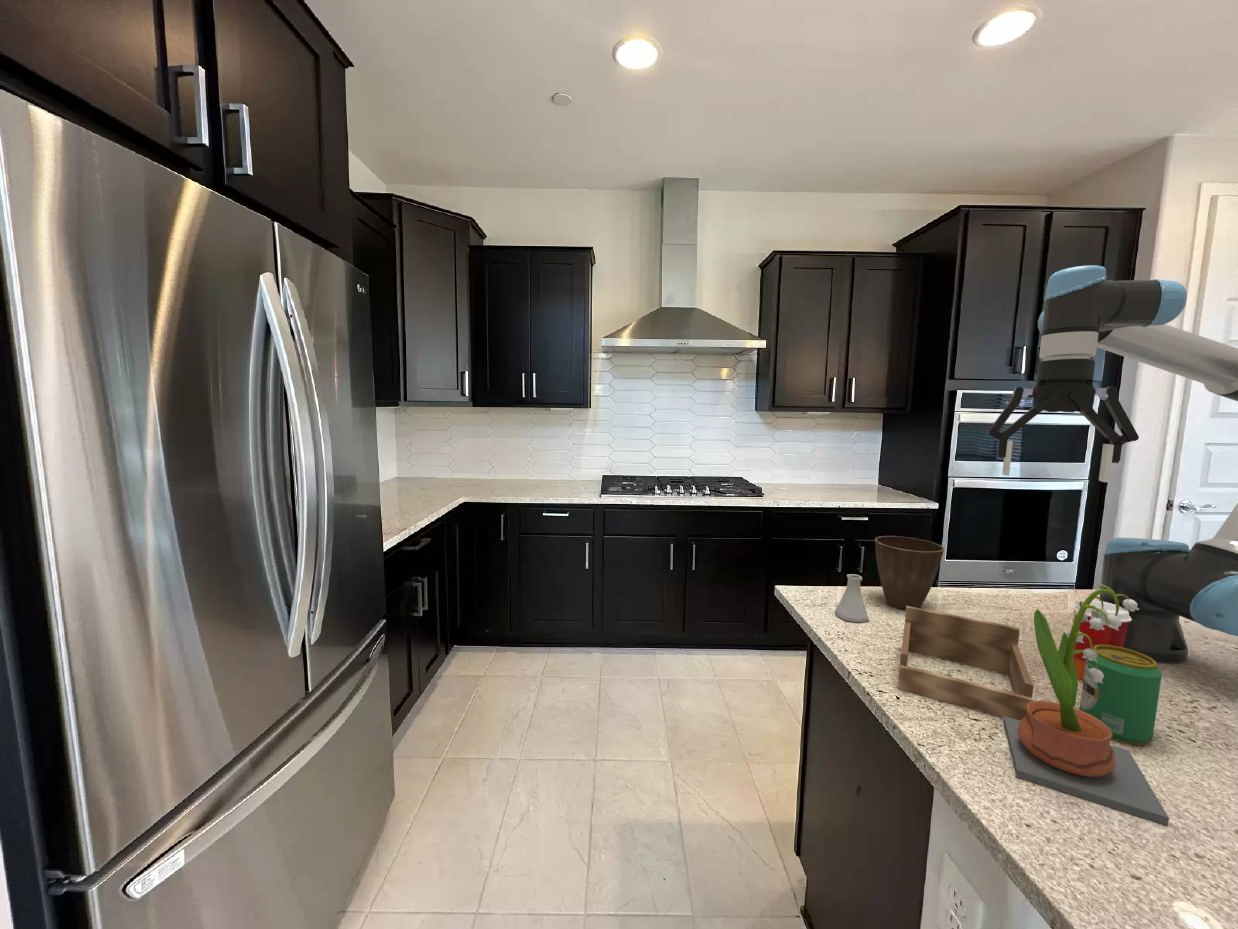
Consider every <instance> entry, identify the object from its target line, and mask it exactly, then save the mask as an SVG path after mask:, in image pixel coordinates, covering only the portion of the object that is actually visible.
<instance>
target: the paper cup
mask: <svg viewBox="0 0 1238 929" xmlns="http://www.w3.org/2000/svg"><path fill="white" fill-rule="evenodd" d="M1086 599H1087V598H1083V599H1082V598H1081V599H1077V601H1076V602H1075V603H1074V604H1073V605H1072V607H1071V609H1072V610H1073V611H1074V612H1073V618H1076V617H1075V615H1074V614H1075V612H1076V611H1078V610H1079V609H1080V605H1079V603H1080V601H1083V602H1084V601H1085V600H1086ZM1090 605H1092V606H1095V607H1096V608H1102V604H1101V601H1099V599H1097V600H1095V599H1093V600H1092V602H1091V603H1090ZM1103 605H1104V606H1103V609H1104V610H1106V611H1107V613H1108V615H1115V613H1116V605H1115V604H1111V603H1107V602H1103ZM1091 611H1092V608H1087V609H1086V613H1087V614H1088V618H1087V619H1088V622H1086V621H1085V620H1084V622H1081V624H1080V628H1079V631H1080V632H1081V633H1084V634H1086V635H1088V636H1089V637H1090V639H1091V642H1092V649H1093V647H1094V646H1095V645H1111V646H1117V647H1121V648H1123V644H1124V640H1125V635H1126V631H1127V626H1128V622H1129V621H1131V620H1132V619H1131V617H1130V616H1129V612H1128V611H1127V610H1124V608H1122V607H1120V606H1119V611H1118V614H1117V617H1119V618H1120V620H1121V623H1122V624H1121V626H1119V627H1118V630H1119V631H1118V630H1116V629H1115V628H1114V629H1113V628H1112V627H1108V626H1107V625H1103V628H1104V630H1102V629H1100V630H1095V629H1094V628H1089V627H1090V623H1089V621H1090V619H1092V618H1091V617H1089V616H1091V614H1092V613H1091ZM1082 641H1083V642H1084V643H1081V642H1079V643H1078V642H1076V644H1075V650H1085V649H1087V648H1088V649H1091V645H1090V641H1089V639H1088V638H1087V637H1086V636H1084V635H1083V639H1082ZM1075 650H1074V651H1075ZM1083 655H1084V654H1083V653H1078V654H1075V655H1073V659H1074V663H1075V669H1076V674H1077V679H1078V681H1080V682H1083V680H1084V672H1085V664H1086V658H1083Z"/></svg>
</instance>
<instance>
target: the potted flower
mask: <svg viewBox="0 0 1238 929" xmlns="http://www.w3.org/2000/svg"><path fill="white" fill-rule="evenodd" d="M1098 587H1100V589H1096V590H1094V591H1092V592H1091V593H1090V594H1089V595H1088V597H1087V598H1085V599H1086V600H1085V601H1084V602H1083V601H1080V603H1079V605H1080V609H1079V610H1078V611H1076V612H1075V614H1074V613H1073V616H1074V615H1075V617H1076V618H1074V617H1073V618H1072V626H1071V628H1070V630H1068V631H1067V634H1066V632H1063V633H1062V635H1061V639H1060V643H1059V647H1058V648H1057V646H1056V643H1055V640H1054V637H1053V633H1052V631H1051V628H1050V626H1049V623H1048V620H1047V618H1046V617H1045V615H1044V614H1043V613H1042V612H1041V610H1040V609H1039V608H1037V609H1036V610H1035V611H1034V614H1033V625H1034V633H1035V639H1036V646H1037V649H1038V652H1039V654H1040V657H1041V660H1042V663H1043V664H1044V665H1043V666H1044V669H1045V672H1046V673H1047V676H1048V680H1049V681H1050V684H1051V687H1052V690H1053V692H1054V695H1055V697H1056V698H1057V701H1058V702H1056V701H1055V702H1054V701H1049V700H1033V702H1030V703H1028V704H1027V705H1026V710H1027V714H1026V716H1025V717H1024V718H1023V719H1022V720H1021V721H1020V723H1019V727H1018V730H1017V733H1018V736H1019V737H1020V739H1021V741H1022V742H1023V744H1024V746H1025V747H1026V748H1027V749H1028V750H1029V751H1030V752H1031V753H1032V754H1033V755H1035V756H1036V757H1038V758H1039V759H1041V760H1042V761H1044V762H1046V763H1048V764H1049V765H1051V766H1053V767H1055V768H1058V769H1060V770H1063V771H1065V772H1069V773H1072V774H1076V775H1081V776H1087V777H1101V776H1104V775H1106V774H1108V773H1110V772H1111V771H1113V770H1114V769H1115V767H1116V763H1115V753H1114V751H1113V749H1112V747H1111V740H1112V739H1111V738H1112V736H1113V735H1112V732H1111V730H1110V729H1109V728H1108V727H1107V726H1106V725H1105V724H1104V723H1103V722H1101V721H1100V720H1098V719H1097V718H1095V717H1093V716H1092V715H1090V714H1088V713H1085V712H1083V711H1081V710H1080V709H1078V708H1077V707H1076V708H1075V706H1076V702H1077V697H1078V696H1077V695H1078V690H1079V679H1077V674H1076V669H1075V663H1074V659H1073V655H1075V654H1078V653H1083V654H1084V655H1083V658H1087V659H1088V660H1091V661H1092V660H1093V661H1095V664H1096V668H1091V669H1089V670H1088V671H1087V674H1088V676H1087V679H1089V680H1091V679H1092V681H1093V682H1096V683H1098V680H1099V682H1100V683H1103V682H1102V679H1103V678H1104V675H1103V673H1102V672H1101V671H1100V670H1099V669H1098V666H1097V662H1096V657H1097V653H1096V651H1094V650H1093V649H1092V642H1091V639H1090V637H1089V636H1088V635H1086V634H1084V633H1081V632H1080V631H1079V628H1080V624H1081V622H1084V620H1085V621H1086V622H1088V619H1087V618H1088V614H1087V613H1086V609H1087V608H1092V611H1091V613H1092V614H1091V616H1089V617H1091V618H1092V619H1090V621H1089V623H1090V627H1089V628H1094V629H1095V630H1100V629H1102V630H1104V628H1103V625H1107V626H1108V627H1112V628H1113V629H1114V628H1115V629H1116V630H1118V627H1119V626H1121V624H1122V623H1121V620H1120V618H1119V617H1117V614H1118V611H1119V601H1118V598H1117V596H1125V595H1123V594H1117V595H1116V594H1115V592H1114V591H1113V590H1112V589H1110V588H1109V587H1107V586H1104V585H1101V583H1100V584H1099V586H1098ZM1101 587H1105V588H1107V589H1109V590H1107V589H1101ZM1100 593H1107V594H1109V595H1111V596H1112V597H1113V598H1114V600H1115V604H1116V613H1115V615H1108V613H1107V611H1106V610H1104V609H1103V606H1104V605H1103V601H1102V599H1101V598H1100ZM1098 595H1099V596H1098ZM1125 597H1126V598H1127V599H1126V600H1124V601H1123V606H1124V607H1125V609H1124V610H1128V609H1129V610H1130V611H1131V612H1133V611H1135V610H1139V609H1138V608H1137V603H1136V602H1135V601H1134V600H1132V599H1129V598H1128V597H1127V596H1125ZM1095 599H1097V600H1098V601H1099V600H1100V601H1101V604H1102V608H1096V607H1095V606H1092V605H1090V603H1091V602H1092V600H1095ZM1118 631H1119V630H1118ZM1083 635H1084V636H1086V637H1087V638H1088V639H1089V641H1090V645H1091V649H1088V648H1087V649H1085V650H1075V644H1076V642H1078V643H1079V642H1081V643H1084V642H1083V641H1082V639H1083ZM1074 650H1075V651H1074Z"/></svg>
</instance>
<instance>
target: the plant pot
mask: <svg viewBox="0 0 1238 929" xmlns="http://www.w3.org/2000/svg"><path fill="white" fill-rule="evenodd" d="M874 546H875V557H876V564H877V571H878V576H879V577H878V578H879V581H880V585H881V589H882V592H883V596H884V598H885V602H886V603H887V604H888V605H889V606H891V607H894V608H897V609H900V610H904V609H906V606H910V607H915V608H920V609H921V607H922V605H923V603H924V602H925V600H926V599H927V597H928V594H929V593H930V590H931V589H932V586H933V584H934V583H935V579H936V576H937V575H938V571H939V569H940V565H941V562H942V559H943V558H942V557H943V555H944V551H945V547H944V546H943V545H941V544H938V543H935V542H933V541H931V540H930V541H929V540H926V539H919V538H915V537H908V536H898V535H885V536H884V535H883V536H881V535H880V536H877V537H875V539H874Z"/></svg>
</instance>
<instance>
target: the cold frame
mask: <svg viewBox="0 0 1238 929" xmlns="http://www.w3.org/2000/svg"><path fill="white" fill-rule="evenodd" d="M903 627H904V628H903V634H902V635H903V636H902V643H901V650H900V660H899V663H900V664H899V670H898V671H899V672H898V685H897V689H899V690H902V691H906V692H910V693H914V694H917V695H919V696H920V695H921V696H925V697H927V698H931V699H936V700H939V701H943V702H946V703H949V704H953V705H957V706H960V707H965V708H967V709H968V708H969V709H971V710H976V711H978V712H979V711H980V712H982V713H986V714H989V715H993V716H997V717H1001V718H1004V716H1006V717H1010V718H1013V719H1017V720H1022V719H1023V718H1024V717H1025V716H1026V714H1027V710H1026V705H1027V704H1028V703H1030V702H1033V701H1034V699H1033V692H1034V682H1033V681H1032V678H1031V676H1030V672H1029V671H1028V667H1027V665H1026V662H1025V659H1024V657H1023V654H1022V652H1021V649H1020V647H1019V640H1020V639H1019V638H1020V632H1021V631H1020V630H1021V629H1020V627H1018V626H1012V625H1007V624H1002V623H997V622H992V621H986V620H982V619H975V618H971V617H966V616H961V615H957V614H956V615H955V614H950V613H945V612H940V611H935V610H931V609H930V610H929V609H924V608H921V607H920V608H915V607H910V606H906V610H905V616H904V626H903ZM909 652H910V653H914V654H919V655H923V656H928V657H932V658H936V659H940V660H943V661H944V660H945V661H949V662H953V663H957V664H960V665H966V666H969V667H975V668H977V667H979V668H978V669H982V668H983V669H982V670H988V671H991V672H994V671H996V672H995V673H999V674H1003V675H1007V674H1008V675H1007V677H1008V679H1009V683H1010V686H1011V690H1012V692H1011V691H1008V690H1004V689H999V688H995V687H992V686H988V685H984V684H980V683H975V682H971V681H968V680H963V679H961V678H957V677H952V676H948V675H944V674H940V673H935V672H931V671H929V670H928V671H927V670H924V669H920V668H915V667H913V666H909V665H908V658H909Z"/></svg>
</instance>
